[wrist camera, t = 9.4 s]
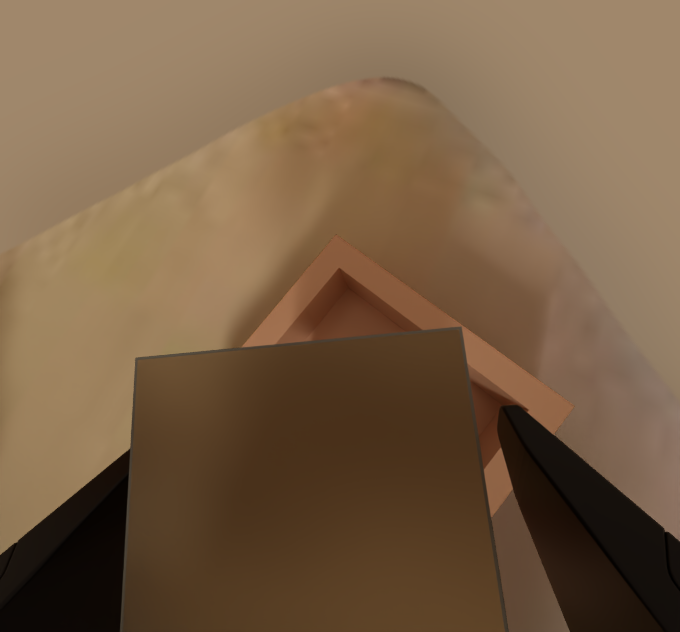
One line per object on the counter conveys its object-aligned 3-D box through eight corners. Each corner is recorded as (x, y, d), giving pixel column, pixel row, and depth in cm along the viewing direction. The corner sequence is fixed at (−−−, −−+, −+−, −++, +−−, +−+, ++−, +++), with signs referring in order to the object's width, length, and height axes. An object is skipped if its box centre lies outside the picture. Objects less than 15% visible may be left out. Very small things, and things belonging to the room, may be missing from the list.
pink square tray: (533, 402, 17) (574, 406, 13) (380, 603, 16) (376, 670, 13) (346, 263, 20) (336, 234, 16) (210, 428, 19) (164, 438, 16)
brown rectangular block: (426, 461, 17) (511, 648, 5) (306, 466, 18) (119, 638, 6) (415, 367, 18) (461, 326, 6) (302, 377, 19) (135, 357, 7)
